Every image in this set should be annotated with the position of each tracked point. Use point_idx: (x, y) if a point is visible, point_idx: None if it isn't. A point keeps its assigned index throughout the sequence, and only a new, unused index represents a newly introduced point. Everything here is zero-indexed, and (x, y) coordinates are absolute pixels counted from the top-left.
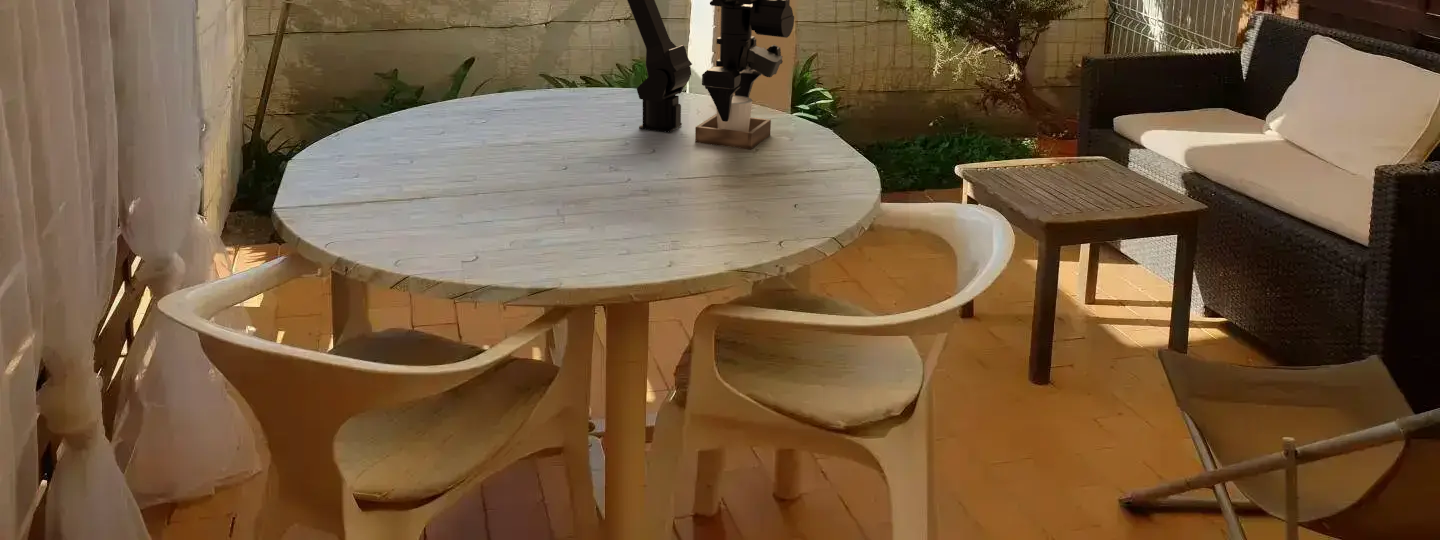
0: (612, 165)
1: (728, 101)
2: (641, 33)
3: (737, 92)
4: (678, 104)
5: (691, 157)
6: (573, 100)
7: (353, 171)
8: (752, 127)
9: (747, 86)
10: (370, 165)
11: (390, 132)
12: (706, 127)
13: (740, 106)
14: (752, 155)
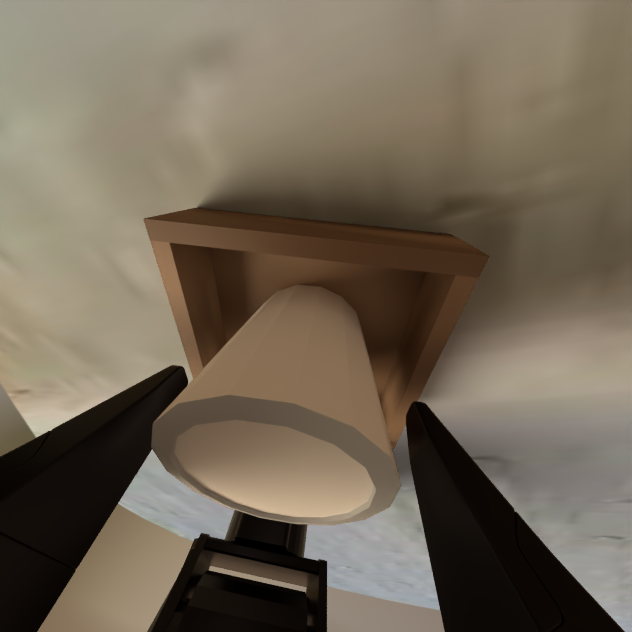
0: (608, 500)
1: (561, 571)
2: None
3: (121, 476)
4: None
5: (558, 394)
6: (205, 526)
7: None
8: (209, 291)
9: (27, 504)
10: None
11: (408, 596)
12: (394, 426)
13: (381, 431)
14: (561, 202)
